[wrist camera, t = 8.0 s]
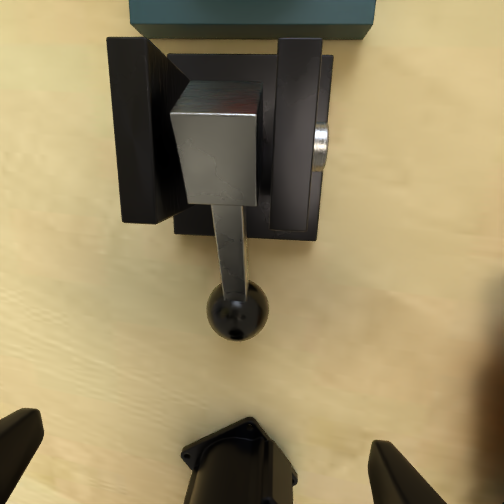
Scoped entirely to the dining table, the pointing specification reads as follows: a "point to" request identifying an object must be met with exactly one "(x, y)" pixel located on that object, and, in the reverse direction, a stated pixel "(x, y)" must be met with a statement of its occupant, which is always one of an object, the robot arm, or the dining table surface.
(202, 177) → the lever handle
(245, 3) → the button housing
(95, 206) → the dining table surface
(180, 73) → the lever bracket
